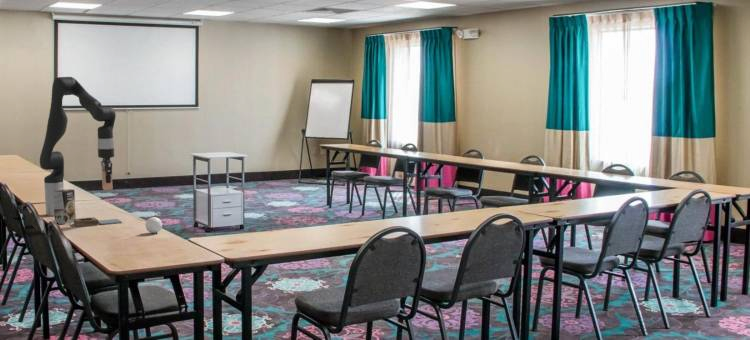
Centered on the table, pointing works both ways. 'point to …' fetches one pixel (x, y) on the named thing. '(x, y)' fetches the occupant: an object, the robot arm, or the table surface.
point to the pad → (109, 221)
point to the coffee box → (64, 206)
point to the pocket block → (85, 222)
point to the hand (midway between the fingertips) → (107, 182)
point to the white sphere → (153, 225)
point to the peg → (106, 185)
